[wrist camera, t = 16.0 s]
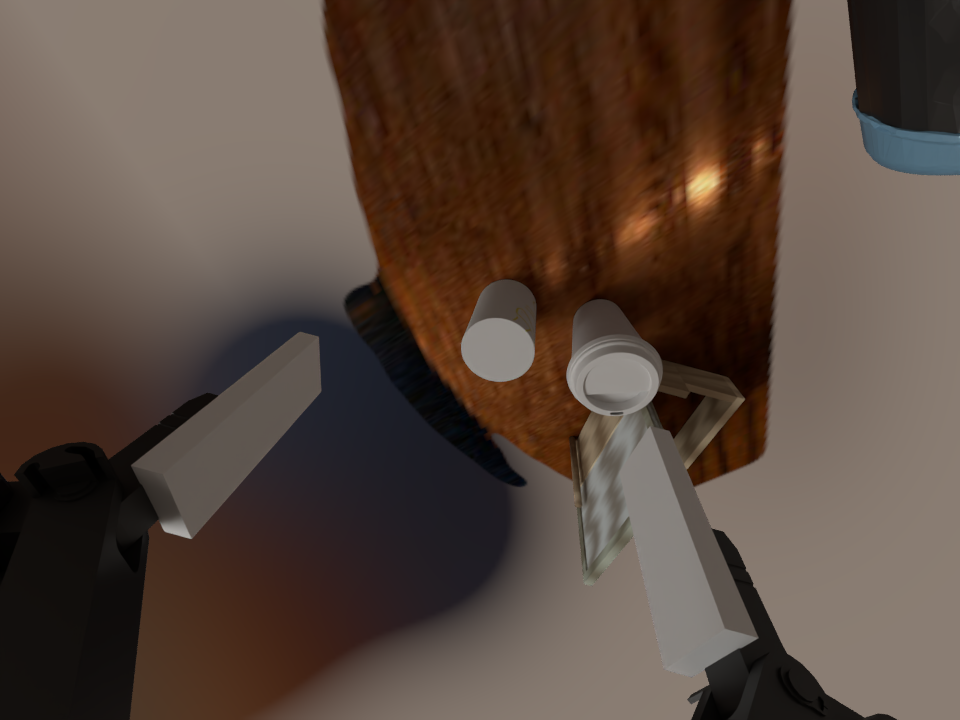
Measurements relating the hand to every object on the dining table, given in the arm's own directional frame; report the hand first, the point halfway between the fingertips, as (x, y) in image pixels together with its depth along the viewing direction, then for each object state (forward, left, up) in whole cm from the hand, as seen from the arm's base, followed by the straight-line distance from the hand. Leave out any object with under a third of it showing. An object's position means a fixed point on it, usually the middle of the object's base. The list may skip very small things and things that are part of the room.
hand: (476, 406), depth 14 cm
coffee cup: (+10, +13, -35) cm, 39 cm away
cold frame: (+23, +26, -35) cm, 49 cm away
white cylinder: (+11, +1, -35) cm, 37 cm away
